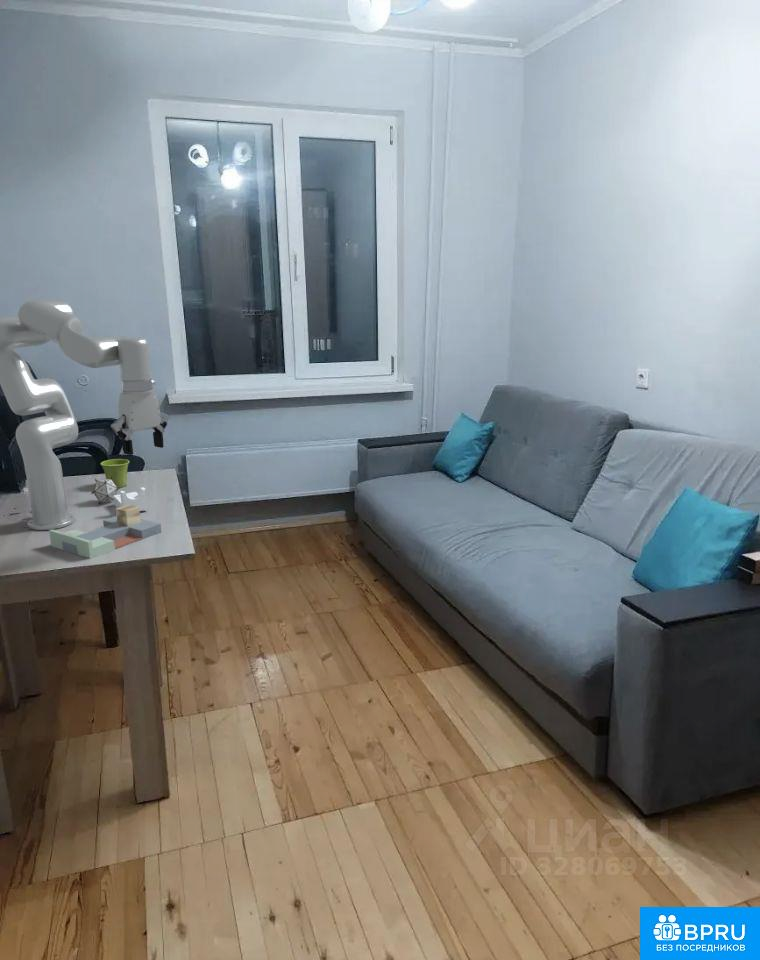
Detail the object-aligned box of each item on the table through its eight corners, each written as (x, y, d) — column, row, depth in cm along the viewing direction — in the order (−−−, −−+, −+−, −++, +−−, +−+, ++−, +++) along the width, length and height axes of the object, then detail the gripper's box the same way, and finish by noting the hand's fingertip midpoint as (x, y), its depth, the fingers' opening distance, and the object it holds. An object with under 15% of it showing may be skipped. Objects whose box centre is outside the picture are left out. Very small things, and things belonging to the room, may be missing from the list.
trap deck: (51, 546, 186) (49, 530, 185) (122, 521, 205) (121, 507, 203) (90, 558, 177) (88, 542, 176) (161, 532, 196) (159, 517, 194)
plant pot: (126, 480, 248) (123, 457, 246) (135, 486, 241) (133, 462, 238) (100, 485, 242) (97, 461, 240) (108, 491, 235) (105, 467, 233)
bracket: (148, 512, 214) (145, 489, 212) (124, 516, 210) (122, 493, 208) (137, 502, 224) (134, 479, 222) (114, 505, 221) (111, 483, 218)
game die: (111, 514, 223) (111, 495, 216) (86, 505, 223) (85, 486, 215) (124, 494, 229) (124, 475, 222) (99, 485, 229) (99, 466, 222)
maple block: (117, 523, 196) (115, 508, 194) (130, 519, 199) (129, 504, 198) (127, 526, 193) (126, 511, 192) (140, 521, 197) (139, 506, 196)
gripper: (155, 381, 187) (161, 442, 191) (99, 389, 173) (106, 455, 178) (173, 383, 183) (179, 446, 187) (117, 391, 169) (125, 459, 174)
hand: (144, 450), depth 183 cm, fingers open, 9 cm apart
